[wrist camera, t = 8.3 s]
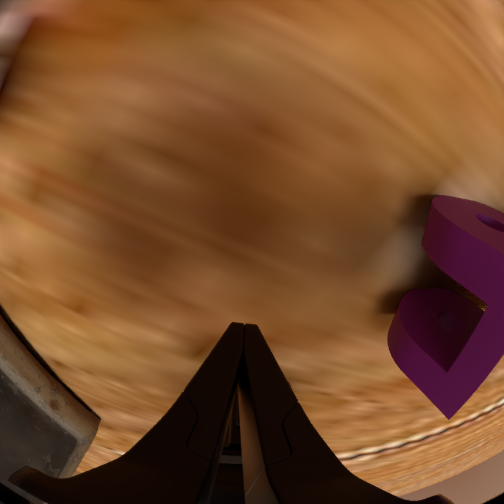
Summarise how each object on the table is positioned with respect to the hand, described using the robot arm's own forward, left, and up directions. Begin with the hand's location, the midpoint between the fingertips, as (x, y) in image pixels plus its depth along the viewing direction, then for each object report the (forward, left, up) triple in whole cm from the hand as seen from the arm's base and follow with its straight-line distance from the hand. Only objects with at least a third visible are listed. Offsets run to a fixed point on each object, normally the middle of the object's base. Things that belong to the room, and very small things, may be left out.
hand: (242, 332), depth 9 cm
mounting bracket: (0, -19, -9) cm, 20 cm away
